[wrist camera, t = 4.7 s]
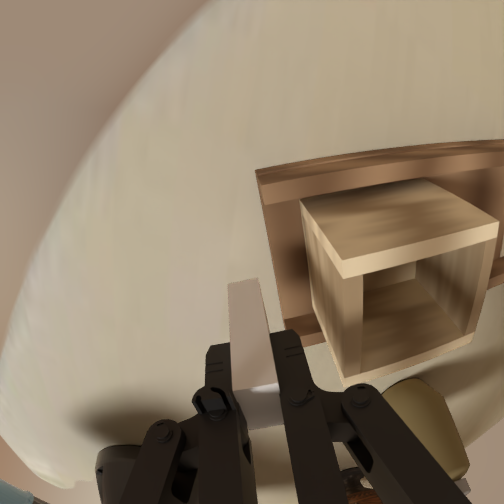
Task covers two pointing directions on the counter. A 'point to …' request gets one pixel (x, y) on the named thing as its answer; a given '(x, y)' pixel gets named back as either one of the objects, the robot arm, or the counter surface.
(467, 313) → the crate
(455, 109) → the counter surface
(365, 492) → the vase
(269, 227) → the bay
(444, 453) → the squeeze bottle
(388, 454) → the robot arm
